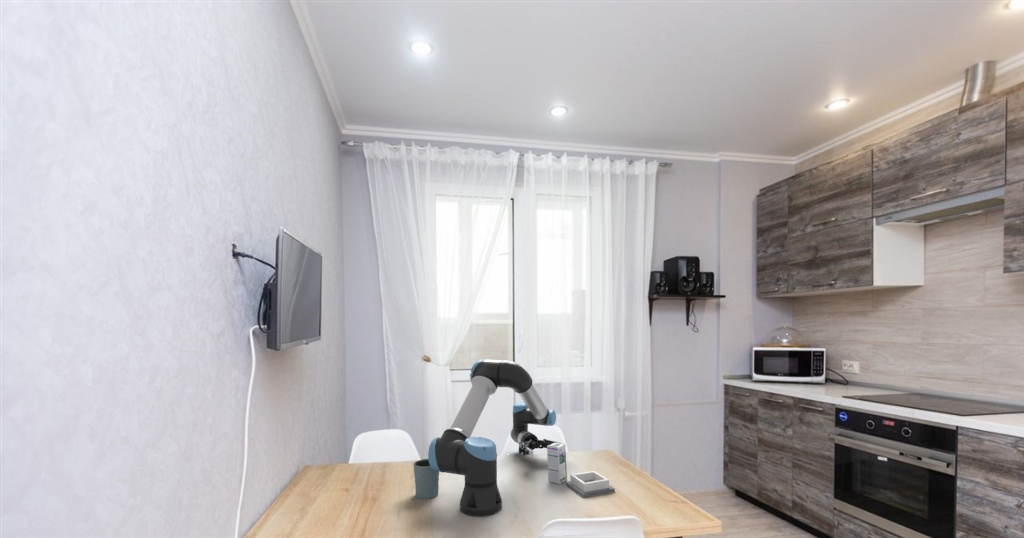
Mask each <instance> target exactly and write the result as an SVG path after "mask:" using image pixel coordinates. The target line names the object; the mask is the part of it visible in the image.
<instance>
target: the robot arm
mask: <svg viewBox="0 0 1024 538" xmlns="http://www.w3.org/2000/svg"><path fill="white" fill-rule="evenodd" d="M469 376H470V377H469V378H470V382H471V388H470V390H469V392H468V394H467V396H466V397H465V399H464V401H463V403H462V404H461V407H460V409H459V411H458V413H457V415H456V416H455V418H454V420H453V422H452V424H451V425H450V427H449V428H446V429H445V430H444V431H443V433H442V435H441V436H440V437H437V436H436V437H434V438H433V439H431V442H430V444H429V446H428V450H427V452H428V453H427V455H428V456H427V459H428V460H429V464H430V466H431V468H432V469H433V470H436V471H439V473H442V474H443V473H446V474H453V475H459V476H463V477H464V487H463V490H462V494H461V497H460V500H459V510H460V512H461V513H462V514H465V515H467V516H471V517H487V516H492V515H494V514H497V513H499V512H500V511H501V510H502V508H503V500H502V497H501V493H500V489H499V487H498V476H497V475H498V473H497V472H498V468H497V467H498V466H497V465H498V464H497V463H498V453H497V445H496V444H495V441H493V440H491V439H490V438H486V437H482V436H477V437H476V436H472V434H473V432H474V430H475V427H476V426H477V423H478V421H479V419H480V416H481V415H482V413H483V410H484V408H485V407H486V404H487V402H488V400H489V399H490V396H492V395H494V394H495V393H496V391H497V390H498V388H508V389H512V390H513V391H514V392H515V393H516V394H519V395H518V396H520V398H521V399H522V400H523V402H517V403H514V404H513V406H512V428H511V429H510V434H509V435H510V438H511V439H512V440H513V442H515V443H517V444H518V454H520V455H521V454H522V456H526V455H527V456H528V457H530V458H531V459H534V450H535V449H547V446H548V445H551V444H553V443H560V442H558V441H554V440H551V439H550V440H549V439H547V438H542V440H541V439H538V437H537V436H536V435H535V434H534V433H532V432H530V431H529V425H537V426H546V427H547V426H548V427H549V426H550V427H553V426H555V423H556V421H557V413H556V411H555V410H553V409H548V408H547V406H546V404H545V402H544V401H543V399H542V397H541V396H540V394H539V392H538V391H537V390H536V388H535V385H534V384H533V379H532V376H531V375H530V373H529V372H528V371H527V370H526V369H525V368H524V367H523V366H521V365H520V364H519V363H516V362H515V361H512V360H506V359H505V360H503V359H502V360H501V359H487V358H486V359H479V360H477V361H475V363H474V364H473V365H472V367H471V369H470V373H469Z"/></svg>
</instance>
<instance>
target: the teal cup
mask: <svg viewBox="0 0 1024 538" xmlns="http://www.w3.org/2000/svg"><path fill="white" fill-rule="evenodd" d="M413 473H414V485H415V486H414V487H415V497H416V498H417V499H420V500H428V498H430V499H433V497H434V498H436V497H438V495H439V488H440V487H439V480H440V478H439V476H440V471H436V470H433V469H432V468H431V466H430V464H429V460H428V458H425V459H420V460H416V461H415V462H413ZM435 496H436V497H435Z"/></svg>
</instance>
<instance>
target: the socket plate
mask: <svg viewBox="0 0 1024 538" xmlns="http://www.w3.org/2000/svg"><path fill="white" fill-rule="evenodd" d="M565 486H566V487H568V488H569V489H571V490H572V491H573V492H575V493H576V494H578V495H579V496H580V497H581V498H588V497H595V496H600V495H604V494H611V493H615V492H616V490H615V489H616V488H614V487H612V486H611V485H610V479H609V478H607V477H605V476H603V475H601V474H600V473H598V472H597V471H595V470H593V471H585V472H579V473H573V474H570V480H568V481H565Z"/></svg>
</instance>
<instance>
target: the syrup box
mask: <svg viewBox="0 0 1024 538" xmlns="http://www.w3.org/2000/svg"><path fill="white" fill-rule="evenodd" d="M566 450H567V449H566V443H565V444H564V443H561V442H559V443H553V444H551V445H548V446H547V448H546V452H547V478H548V482H550V483H553V484H557V485H560V484H562V483H564V482H566V481H567V480H568V475H567V472H568V471H567V456H566V455H567V454H566V453H567V452H566Z"/></svg>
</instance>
